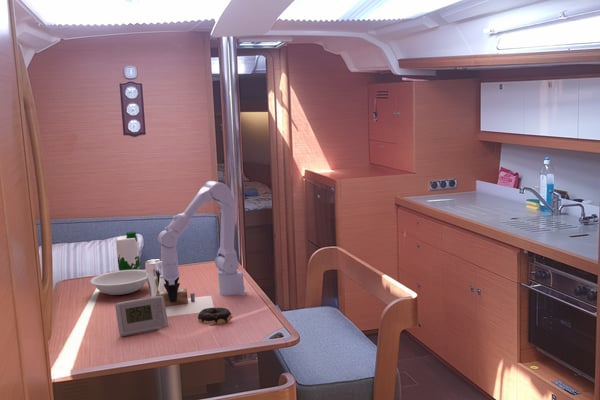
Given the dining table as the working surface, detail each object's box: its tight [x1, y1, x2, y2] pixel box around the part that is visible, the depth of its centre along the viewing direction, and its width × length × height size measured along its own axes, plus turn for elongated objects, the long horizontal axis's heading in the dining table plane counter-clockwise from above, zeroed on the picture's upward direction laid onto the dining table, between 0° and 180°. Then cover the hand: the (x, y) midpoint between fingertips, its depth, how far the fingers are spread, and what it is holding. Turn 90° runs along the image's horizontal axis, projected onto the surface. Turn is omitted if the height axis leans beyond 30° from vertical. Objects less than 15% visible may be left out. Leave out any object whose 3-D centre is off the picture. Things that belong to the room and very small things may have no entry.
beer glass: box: [144, 258, 165, 297], centre depth 262 cm, size 7×7×15 cm
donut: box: [197, 307, 232, 327], centre depth 232 cm, size 11×12×4 cm
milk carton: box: [115, 231, 141, 271], centre depth 298 cm, size 9×9×20 cm
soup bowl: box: [89, 269, 147, 296], centre depth 276 cm, size 24×24×7 cm
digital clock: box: [114, 296, 169, 337], centre depth 226 cm, size 16×9×11 cm, turn 101°
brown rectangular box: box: [156, 288, 189, 307], centre depth 252 cm, size 11×5×5 cm, turn 101°
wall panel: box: [165, 292, 215, 318], centre depth 248 cm, size 22×20×4 cm
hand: (173, 299), depth 252 cm, fingers open, 7 cm apart
